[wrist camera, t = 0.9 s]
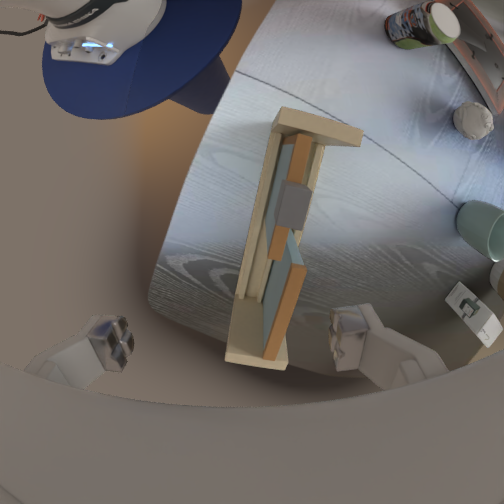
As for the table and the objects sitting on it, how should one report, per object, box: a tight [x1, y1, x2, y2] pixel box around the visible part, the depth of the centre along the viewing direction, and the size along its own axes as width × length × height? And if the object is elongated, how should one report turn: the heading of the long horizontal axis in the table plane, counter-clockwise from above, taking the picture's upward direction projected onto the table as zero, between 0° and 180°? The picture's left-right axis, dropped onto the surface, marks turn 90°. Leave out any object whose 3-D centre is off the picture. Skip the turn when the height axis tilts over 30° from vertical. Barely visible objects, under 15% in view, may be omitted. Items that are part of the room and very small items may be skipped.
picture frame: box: [433, 0, 504, 115], centre depth 21 cm, size 16×2×22 cm
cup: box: [457, 200, 504, 262], centre depth 31 cm, size 8×8×10 cm
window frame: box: [225, 106, 364, 370], centre depth 30 cm, size 7×26×14 cm, turn 168°
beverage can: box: [385, 1, 460, 49], centre depth 19 cm, size 6×7×12 cm
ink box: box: [445, 281, 503, 348], centre depth 36 cm, size 9×5×12 cm, turn 57°
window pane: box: [265, 134, 313, 261], centre depth 26 cm, size 2×11×16 cm, turn 168°
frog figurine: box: [453, 101, 494, 140], centre depth 26 cm, size 6×7×7 cm
